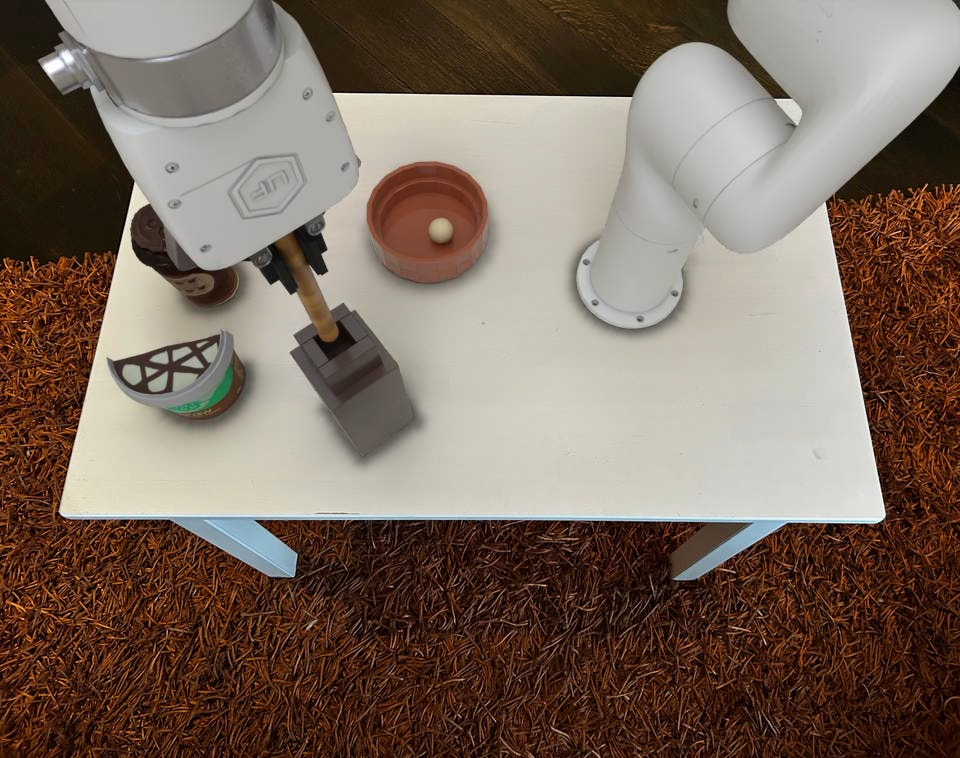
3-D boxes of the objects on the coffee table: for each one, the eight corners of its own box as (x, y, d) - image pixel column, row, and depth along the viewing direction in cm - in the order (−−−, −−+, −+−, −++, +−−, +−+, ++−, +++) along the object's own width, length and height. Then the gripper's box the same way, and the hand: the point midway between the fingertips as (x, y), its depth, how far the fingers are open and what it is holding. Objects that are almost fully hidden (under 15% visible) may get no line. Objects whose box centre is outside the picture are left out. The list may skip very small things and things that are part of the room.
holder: (379, 373, 74) (346, 287, 55) (415, 420, 72) (393, 347, 53) (327, 409, 72) (275, 332, 54) (362, 457, 71) (321, 396, 52)
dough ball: (453, 239, 81) (446, 251, 78) (431, 230, 81) (423, 242, 79) (459, 218, 78) (451, 230, 76) (436, 210, 79) (427, 221, 76)
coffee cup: (233, 324, 76) (187, 266, 64) (166, 311, 77) (107, 252, 65) (257, 261, 79) (217, 194, 67) (192, 249, 80) (141, 181, 68)
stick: (330, 321, 53) (274, 200, 38) (343, 333, 53) (291, 217, 38) (315, 333, 53) (252, 216, 38) (327, 346, 52) (270, 233, 37)
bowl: (442, 169, 84) (440, 142, 80) (510, 243, 80) (512, 220, 76) (350, 225, 81) (342, 200, 76) (416, 306, 77) (413, 285, 72)
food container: (154, 443, 71) (105, 415, 62) (148, 392, 73) (100, 358, 64) (266, 413, 72) (235, 381, 63) (257, 364, 74) (226, 326, 65)
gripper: (32, 188, 23) (221, 377, 40) (397, -4, 26) (427, 245, 44) (-49, 60, 25) (164, 292, 42) (299, -102, 29) (365, 173, 46)
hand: (297, 267), depth 43 cm, fingers closed on stick, 1 cm apart
